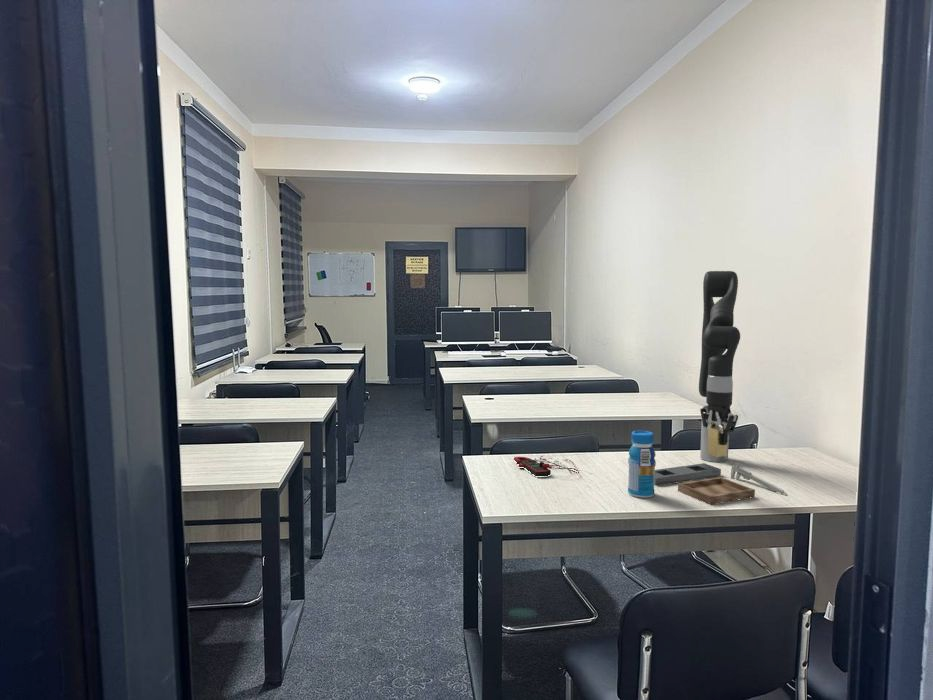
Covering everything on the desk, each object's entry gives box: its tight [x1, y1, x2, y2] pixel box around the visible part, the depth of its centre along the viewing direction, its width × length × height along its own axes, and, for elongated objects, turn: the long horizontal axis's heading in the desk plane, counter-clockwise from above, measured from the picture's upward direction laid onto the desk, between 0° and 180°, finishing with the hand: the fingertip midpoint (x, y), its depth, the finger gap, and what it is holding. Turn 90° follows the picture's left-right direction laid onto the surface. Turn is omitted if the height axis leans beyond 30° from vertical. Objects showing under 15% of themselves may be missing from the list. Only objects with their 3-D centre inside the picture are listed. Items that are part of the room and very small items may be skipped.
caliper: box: [730, 461, 788, 496], centre depth 199 cm, size 20×1×6 cm, turn 28°
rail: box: [654, 462, 722, 487], centre depth 209 cm, size 28×8×2 cm, turn 112°
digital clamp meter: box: [513, 455, 580, 477], centre depth 220 cm, size 23×4×25 cm
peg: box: [707, 427, 727, 457], centre depth 190 cm, size 4×4×8 cm
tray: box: [677, 476, 756, 505], centre depth 191 cm, size 18×14×2 cm
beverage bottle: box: [627, 430, 657, 499], centre depth 191 cm, size 8×8×20 cm
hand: (717, 442), depth 190 cm, fingers closed on peg, 4 cm apart
